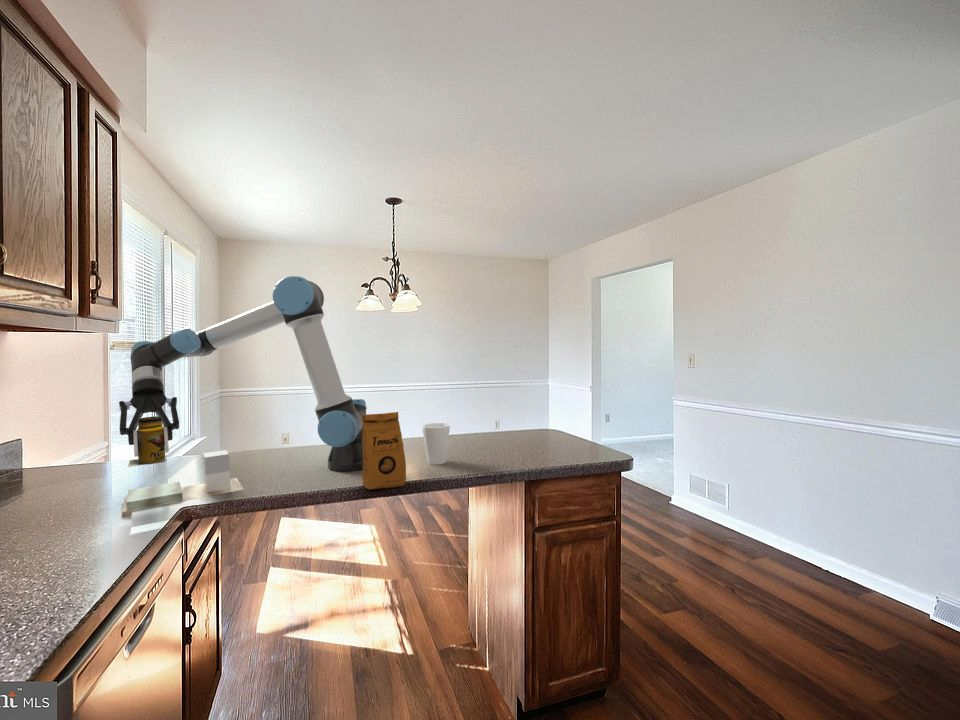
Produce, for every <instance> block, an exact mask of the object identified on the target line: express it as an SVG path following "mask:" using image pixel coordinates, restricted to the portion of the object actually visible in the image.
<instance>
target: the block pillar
mask: <svg viewBox="0 0 960 720" xmlns="http://www.w3.org/2000/svg"><path fill="white" fill-rule="evenodd" d="M202 457H203V458H202V460H203V480H204V481H203V483H204V484H205V489H206V491H207V492H211V491H216V490H222V489H227V488H231V486H230V479H231V469H230V468H231V467H230V454H229V452H228V451H227V450H226V449H223V450H218V451H209V452H203V453H202Z"/></svg>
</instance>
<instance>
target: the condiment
mask: <svg viewBox="0 0 960 720" xmlns="http://www.w3.org/2000/svg"><path fill="white" fill-rule="evenodd" d="M138 423H139V424H138V426H137V429H136V430H137V442H138V456H137V459H130V460H129V463H128V465H127V467H128V468H130V467H136V466H145V465H155V464H163V463H167V462H168V456H167V455H166V453H165V442H164V425H163V423H162V418H161V417H158V416H147V417H141V418H140V419H139V420H138Z"/></svg>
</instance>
